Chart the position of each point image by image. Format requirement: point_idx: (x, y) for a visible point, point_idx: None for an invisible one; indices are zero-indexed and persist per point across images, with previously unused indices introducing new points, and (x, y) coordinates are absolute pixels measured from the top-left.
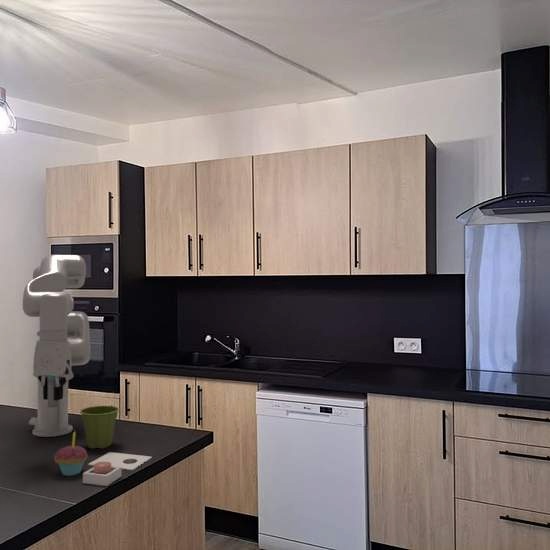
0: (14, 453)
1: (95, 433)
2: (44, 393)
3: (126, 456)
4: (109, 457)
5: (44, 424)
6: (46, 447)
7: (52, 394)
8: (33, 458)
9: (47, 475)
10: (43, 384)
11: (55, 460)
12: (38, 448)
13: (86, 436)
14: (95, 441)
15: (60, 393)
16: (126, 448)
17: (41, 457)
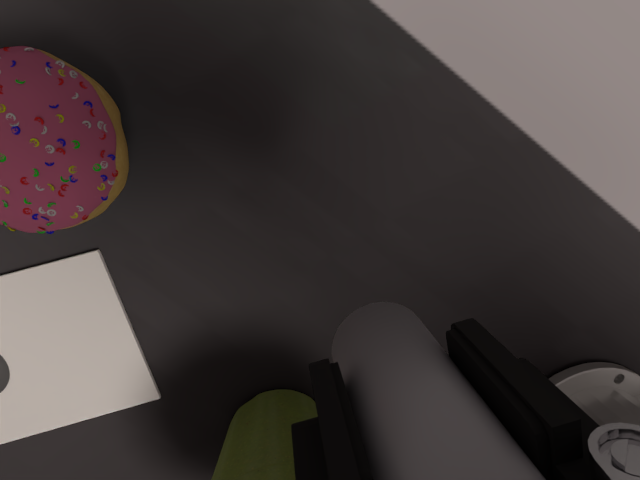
0: (510, 176)
1: (242, 438)
2: (492, 357)
3: (48, 402)
4: (98, 356)
5: (608, 413)
6: (452, 299)
7: (379, 396)
8: (384, 177)
9: (130, 55)
10: (612, 448)
11: (48, 53)
12: (471, 273)
13: (306, 416)
14: (249, 413)
15: (299, 465)
16: (155, 467)
17: (365, 205)
